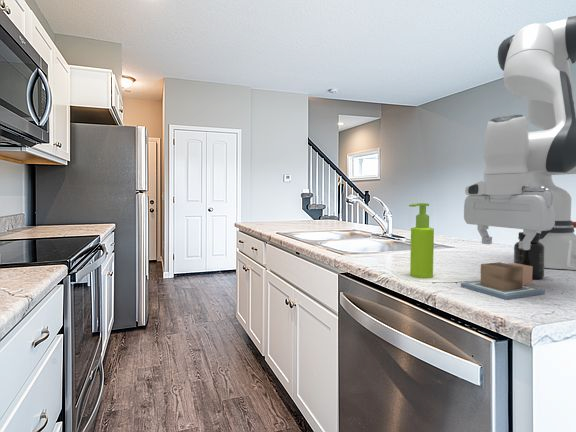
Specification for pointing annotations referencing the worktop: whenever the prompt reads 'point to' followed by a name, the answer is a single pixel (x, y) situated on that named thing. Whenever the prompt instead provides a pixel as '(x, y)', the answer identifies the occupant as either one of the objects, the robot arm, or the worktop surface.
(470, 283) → the board
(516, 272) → the walnut block
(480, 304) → the worktop surface
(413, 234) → the soap dispenser
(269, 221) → the worktop surface
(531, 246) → the supplement bottle
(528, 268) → the terracotta block
